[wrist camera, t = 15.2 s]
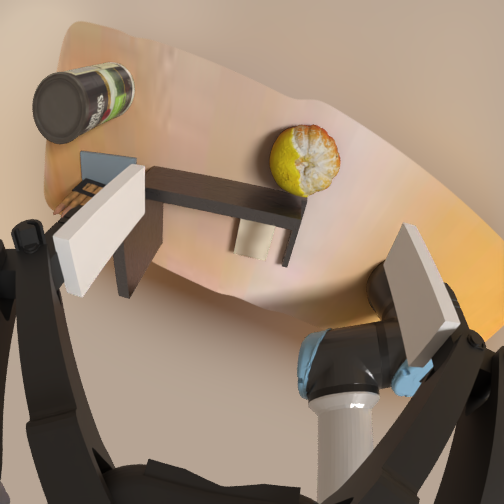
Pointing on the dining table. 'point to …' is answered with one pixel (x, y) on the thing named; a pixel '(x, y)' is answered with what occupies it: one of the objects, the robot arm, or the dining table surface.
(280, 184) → the fruit
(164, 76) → the dining table surface
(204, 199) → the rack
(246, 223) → the offcut upper
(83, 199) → the ammunition clip
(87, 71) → the coffee can
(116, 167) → the mat
